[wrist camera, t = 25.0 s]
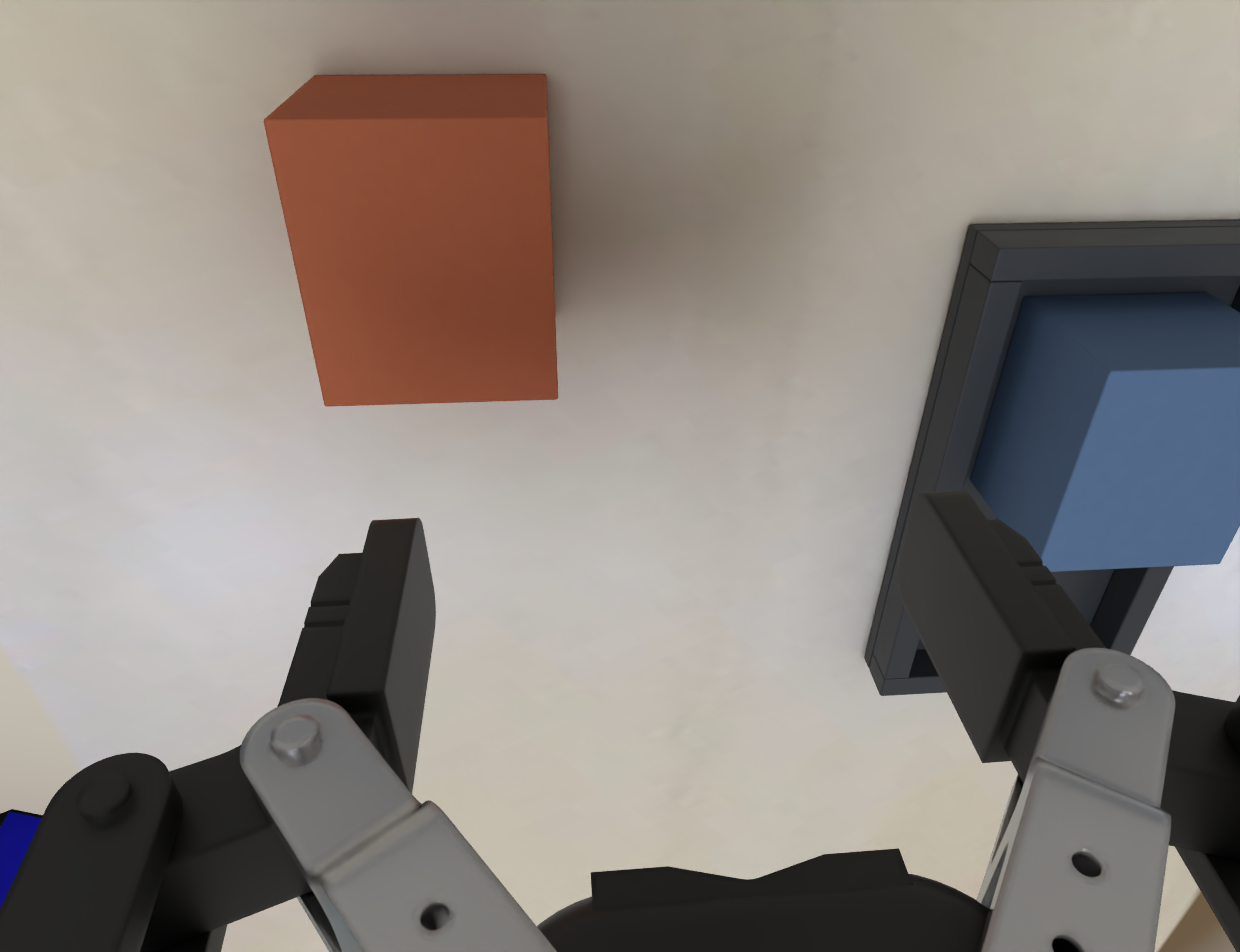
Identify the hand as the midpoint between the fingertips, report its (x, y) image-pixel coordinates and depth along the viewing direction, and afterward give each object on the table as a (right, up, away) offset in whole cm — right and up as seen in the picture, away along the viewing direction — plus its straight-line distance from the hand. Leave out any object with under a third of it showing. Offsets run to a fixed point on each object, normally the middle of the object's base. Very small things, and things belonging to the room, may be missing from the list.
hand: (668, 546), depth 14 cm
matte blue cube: (+15, +4, +15) cm, 21 cm away
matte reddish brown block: (-6, +9, +10) cm, 15 cm away
